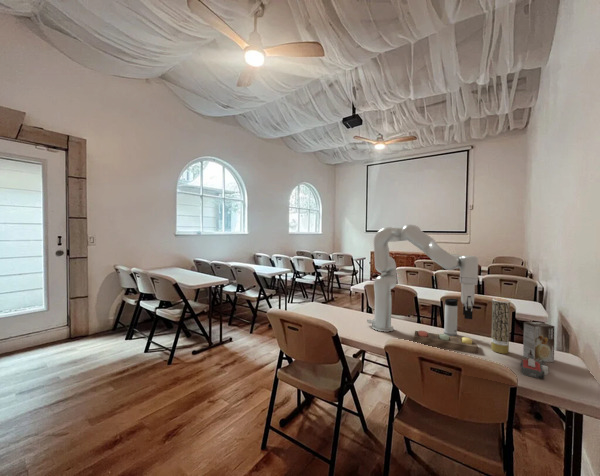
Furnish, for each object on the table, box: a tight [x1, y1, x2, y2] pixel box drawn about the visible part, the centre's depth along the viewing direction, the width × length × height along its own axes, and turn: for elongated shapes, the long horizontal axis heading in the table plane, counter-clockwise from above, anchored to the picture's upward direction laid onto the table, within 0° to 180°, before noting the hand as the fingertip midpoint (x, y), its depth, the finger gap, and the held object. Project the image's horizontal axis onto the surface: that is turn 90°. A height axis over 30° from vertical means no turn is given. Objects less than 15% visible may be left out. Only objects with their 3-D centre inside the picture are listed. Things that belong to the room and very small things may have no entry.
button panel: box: [413, 330, 479, 354], centre depth 140 cm, size 28×10×3 cm, turn 64°
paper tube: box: [490, 297, 511, 355], centre depth 132 cm, size 7×7×25 cm
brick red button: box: [417, 330, 428, 337], centre depth 145 cm, size 4×4×3 cm
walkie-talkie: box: [520, 358, 549, 380], centre depth 115 cm, size 9×4×20 cm
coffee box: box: [522, 321, 555, 363], centre depth 125 cm, size 9×6×16 cm
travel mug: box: [443, 298, 459, 337], centre depth 155 cm, size 6×7×20 cm
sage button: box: [439, 333, 449, 341], centre depth 140 cm, size 4×4×3 cm
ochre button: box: [461, 336, 473, 344], centre depth 136 cm, size 4×4×3 cm
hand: (467, 316), depth 136 cm, fingers open, 5 cm apart
